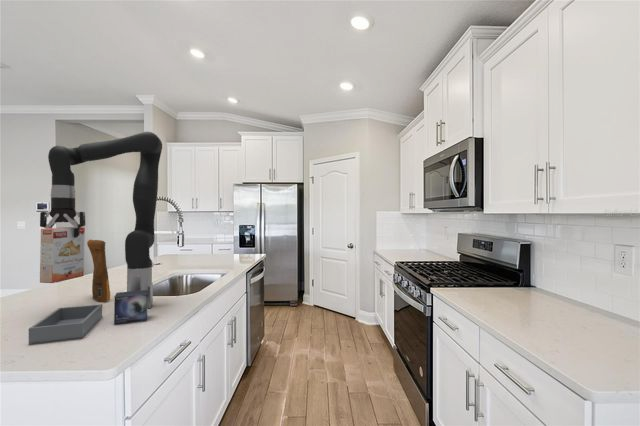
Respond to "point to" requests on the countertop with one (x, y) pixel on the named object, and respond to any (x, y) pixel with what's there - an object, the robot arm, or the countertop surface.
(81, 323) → the tray
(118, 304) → the small box
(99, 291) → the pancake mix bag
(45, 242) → the cracker box
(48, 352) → the countertop surface
